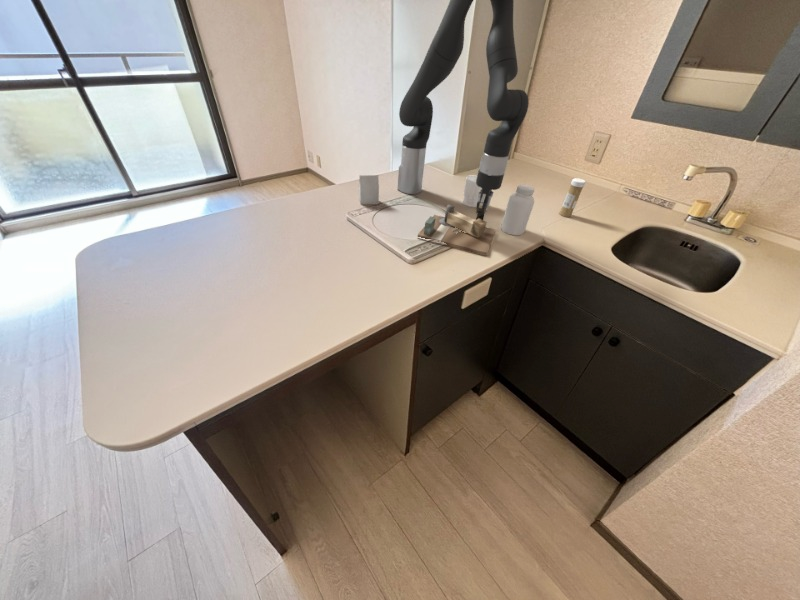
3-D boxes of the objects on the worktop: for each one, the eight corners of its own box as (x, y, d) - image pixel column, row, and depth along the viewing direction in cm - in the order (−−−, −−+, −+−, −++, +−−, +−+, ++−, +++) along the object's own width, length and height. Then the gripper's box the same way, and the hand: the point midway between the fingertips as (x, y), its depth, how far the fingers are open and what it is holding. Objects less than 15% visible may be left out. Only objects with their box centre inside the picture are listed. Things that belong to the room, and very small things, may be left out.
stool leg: (442, 220, 110) (444, 206, 107) (447, 218, 112) (450, 204, 109) (477, 237, 102) (481, 222, 99) (483, 235, 104) (487, 220, 101)
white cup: (482, 208, 125) (489, 183, 119) (462, 207, 125) (467, 181, 118) (479, 200, 131) (485, 175, 125) (460, 199, 131) (465, 174, 124)
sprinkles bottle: (573, 217, 125) (588, 182, 116) (562, 217, 124) (577, 182, 115) (567, 212, 128) (581, 177, 120) (556, 212, 127) (570, 177, 119)
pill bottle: (525, 228, 114) (540, 186, 104) (522, 238, 108) (537, 194, 99) (502, 223, 116) (515, 181, 107) (498, 232, 110) (511, 188, 101)
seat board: (417, 238, 103) (419, 223, 100) (433, 217, 116) (435, 203, 112) (485, 256, 97) (489, 240, 94) (495, 232, 110) (499, 218, 107)
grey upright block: (378, 203, 122) (379, 177, 115) (360, 204, 120) (360, 177, 114) (376, 200, 124) (377, 173, 118) (359, 200, 123) (358, 173, 117)
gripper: (483, 161, 101) (471, 213, 112) (474, 173, 91) (462, 229, 102) (508, 166, 99) (493, 218, 110) (501, 179, 89) (485, 235, 100)
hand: (478, 223), depth 106 cm, fingers closed
